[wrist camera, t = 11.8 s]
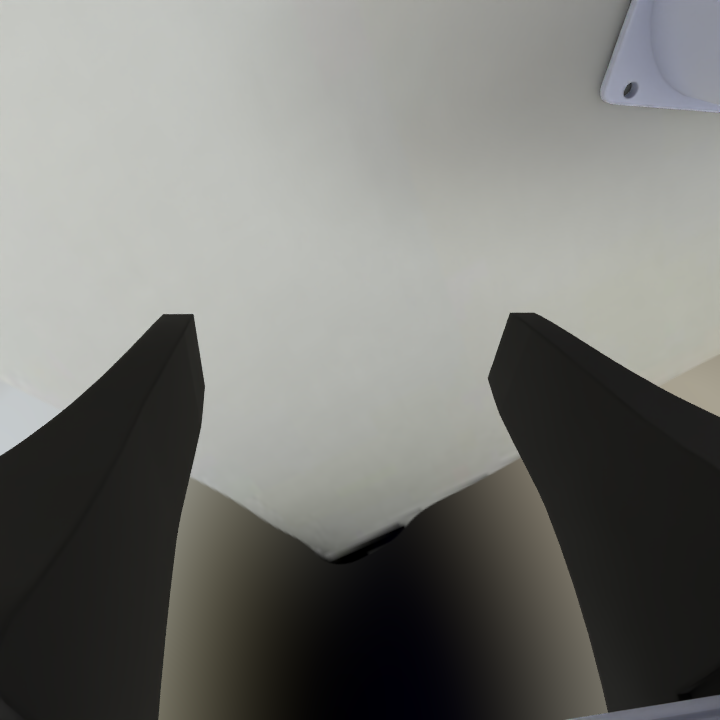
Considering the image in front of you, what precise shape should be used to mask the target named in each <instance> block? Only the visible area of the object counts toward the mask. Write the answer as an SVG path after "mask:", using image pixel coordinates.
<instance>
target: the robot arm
mask: <svg viewBox="0 0 720 720" xmlns="http://www.w3.org/2000/svg"><path fill="white" fill-rule="evenodd" d="M629 83H632V87H631V90H630V91H629V93H628V94H627V95H625V96H624V89H625V88H626V86H627V85H628V84H629ZM600 96H601V99H602V100H603V101H604V102H607V103H610V104H614V105H627V106H639V107H652V108H665V109H678V110H691V111H704V112H717V113H720V0H632V1H631V4H630V7H629V9H628V12H627V15H626V18H625V21H624V23H623V26H622V29H621V32H620V35H619V37H618V40H617V43H616V46H615V49H614V51H613V54H612V57H611V60H610V63H609V65H608V68H607V71H606V74H605V77H604V80H603V82H602V85H601V89H600ZM488 381H489V384H490V387H491V390H492V394H493V397H494V400H495V403H496V406H497V408H498V411H499V414H500V416H501V418H502V420H503V422H504V424H505V426H506V428H507V430H508V432H509V434H510V436H511V439H512V441H513V443H514V444H515V446H516V448H517V450H518V452H519V454H520V456H521V458H522V460H523V462H524V464H525V466H526V468H527V470H528V472H529V474H530V476H531V478H532V480H533V482H534V484H535V486H536V487H537V490H538V492H539V494H540V496H541V498H542V501H543V503H544V505H545V507H546V510H547V512H548V515H549V518H550V520H551V523H552V525H553V528H554V531H555V534H556V536H557V539H558V541H559V544H560V546H561V550H562V553H563V556H564V559H565V561H566V564H567V567H568V570H569V573H570V576H571V579H572V582H573V585H574V588H575V591H576V595H577V598H578V601H579V604H580V608H581V611H582V614H583V618H584V621H585V624H586V627H587V631H588V634H589V638H590V642H591V645H592V649H593V653H594V657H595V661H596V665H597V669H598V672H599V676H600V680H601V684H602V688H603V692H604V697H605V701H606V705H607V710H608V713H604V714H598V715H592V716H586V717H579V718H573V719H568V720H720V417H718V416H716V415H714V414H712V413H710V412H708V411H706V410H704V409H701V408H699V407H697V406H695V405H693V404H691V403H689V402H687V401H685V400H683V399H681V398H679V397H677V396H675V395H673V394H671V393H669V392H667V391H665V390H664V389H662V388H660V387H658V386H656V385H655V384H653V383H651V382H649V381H648V380H646V379H644V378H642V377H640V376H639V375H637V374H635V373H633V372H632V371H630V370H628V369H627V368H625V367H623V366H622V365H620V364H618V363H617V362H615V361H613V360H612V359H610V358H608V357H607V356H605V355H604V354H602V353H600V352H599V351H597V350H596V349H594V348H592V347H591V346H589V345H588V344H586V343H585V342H583V341H581V340H580V339H578V338H577V337H575V336H573V335H572V334H570V333H569V332H567V331H566V330H564V329H562V328H561V327H559V326H557V325H556V324H554V323H552V322H551V321H549V320H547V319H545V318H543V317H542V316H540V315H538V314H536V313H510V315H509V317H508V320H507V323H506V326H505V329H504V332H503V335H502V338H501V341H500V344H499V347H498V350H497V353H496V356H495V359H494V361H493V364H492V367H491V370H490V373H489V376H488ZM204 391H205V384H204V378H203V372H202V365H201V359H200V353H199V346H198V340H197V334H196V328H195V321H194V315H193V314H163V315H162V316H161V317H160V318H159V319H158V320H157V321H156V322H155V323H154V324H153V325H152V326H151V327H150V328H149V329H148V330H147V331H146V332H145V333H144V334H143V336H142V337H141V338H140V339H139V340H138V341H137V342H136V343H135V344H134V345H133V346H132V347H131V348H130V349H129V350H128V351H127V352H126V353H125V354H124V355H123V356H122V357H121V358H120V359H119V360H118V361H117V362H116V363H115V364H114V365H113V366H112V367H111V368H110V369H109V370H108V371H107V372H106V373H105V374H104V375H103V376H102V377H101V378H100V379H99V380H98V381H96V382H95V383H94V384H93V385H92V386H91V387H90V388H89V389H87V390H86V391H85V392H84V393H83V394H82V395H81V396H80V397H78V398H77V399H76V400H75V401H74V402H73V403H72V404H70V405H69V406H68V407H67V408H66V409H64V410H63V411H62V412H61V413H59V414H58V415H57V416H56V417H54V418H53V419H52V420H50V421H49V422H48V423H47V424H45V425H44V426H42V427H41V428H40V429H38V430H37V431H36V432H34V433H33V434H32V435H30V436H29V437H28V438H26V439H25V440H24V441H22V442H21V443H19V444H18V445H16V446H15V447H13V448H12V449H10V450H9V451H7V452H6V453H4V454H3V455H1V456H0V720H158V716H159V702H160V689H161V679H162V668H163V657H164V647H165V636H166V626H167V617H168V607H169V598H170V589H171V580H172V571H173V564H174V556H175V547H176V539H177V533H178V527H179V522H180V517H181V512H182V507H183V503H184V499H185V494H186V490H187V486H188V482H189V478H190V473H191V469H192V465H193V460H194V456H195V452H196V447H197V443H198V438H199V434H200V429H201V423H202V413H203V402H204Z"/></svg>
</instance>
